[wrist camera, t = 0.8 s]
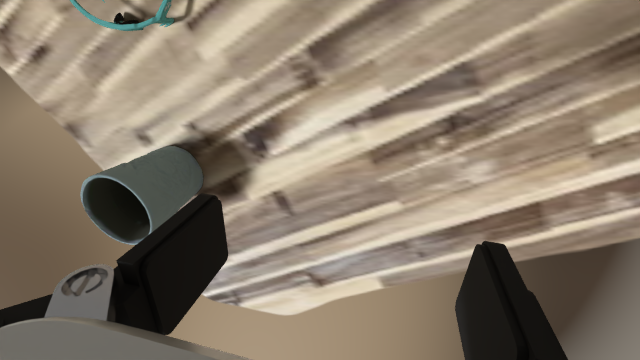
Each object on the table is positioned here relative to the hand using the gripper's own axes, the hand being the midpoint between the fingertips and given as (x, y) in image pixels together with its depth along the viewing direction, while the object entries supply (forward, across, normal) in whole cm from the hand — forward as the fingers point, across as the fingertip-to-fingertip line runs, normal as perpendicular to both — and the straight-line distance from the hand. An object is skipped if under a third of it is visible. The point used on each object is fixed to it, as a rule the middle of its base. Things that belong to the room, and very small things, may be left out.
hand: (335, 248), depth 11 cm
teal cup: (+27, +30, +14) cm, 43 cm away
